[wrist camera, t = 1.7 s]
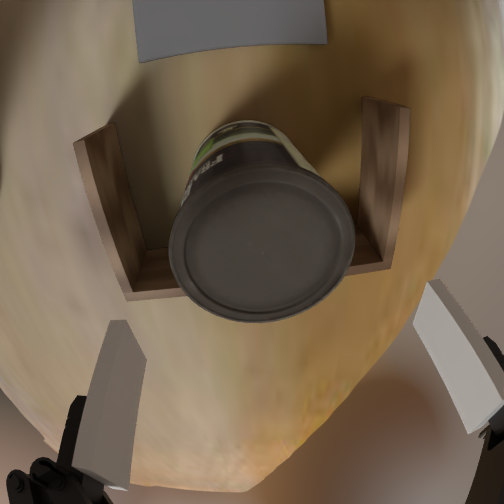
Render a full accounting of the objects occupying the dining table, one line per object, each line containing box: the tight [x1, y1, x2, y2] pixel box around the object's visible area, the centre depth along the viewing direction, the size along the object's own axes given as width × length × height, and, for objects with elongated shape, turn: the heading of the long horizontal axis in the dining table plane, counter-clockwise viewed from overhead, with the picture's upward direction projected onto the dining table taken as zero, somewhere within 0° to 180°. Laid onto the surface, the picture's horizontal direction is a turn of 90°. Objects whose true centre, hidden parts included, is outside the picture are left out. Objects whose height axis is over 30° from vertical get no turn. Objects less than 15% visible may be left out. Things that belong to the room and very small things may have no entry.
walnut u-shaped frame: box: [73, 97, 411, 301], centre depth 25 cm, size 15×25×7 cm, turn 95°
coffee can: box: [169, 120, 355, 323], centre depth 22 cm, size 10×10×14 cm
